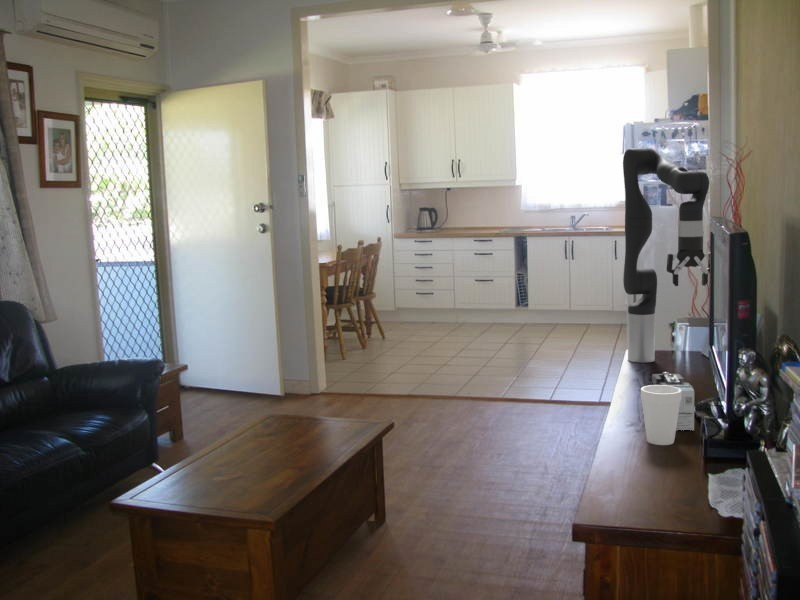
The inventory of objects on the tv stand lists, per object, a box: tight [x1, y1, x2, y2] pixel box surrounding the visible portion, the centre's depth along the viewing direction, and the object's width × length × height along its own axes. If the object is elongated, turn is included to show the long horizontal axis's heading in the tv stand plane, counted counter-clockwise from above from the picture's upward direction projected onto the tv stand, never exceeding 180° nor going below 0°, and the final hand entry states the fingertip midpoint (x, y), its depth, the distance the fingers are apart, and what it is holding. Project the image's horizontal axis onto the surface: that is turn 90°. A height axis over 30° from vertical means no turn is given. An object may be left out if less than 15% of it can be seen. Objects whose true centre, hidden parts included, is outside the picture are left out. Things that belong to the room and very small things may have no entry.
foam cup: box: [640, 384, 682, 446], centre depth 201 cm, size 10×9×13 cm
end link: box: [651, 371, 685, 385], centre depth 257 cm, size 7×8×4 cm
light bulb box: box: [667, 384, 695, 432], centre depth 212 cm, size 11×7×11 cm, turn 84°
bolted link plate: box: [664, 373, 680, 385], centre depth 252 cm, size 10×3×4 cm, turn 169°
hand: (690, 285), depth 264 cm, fingers open, 8 cm apart
